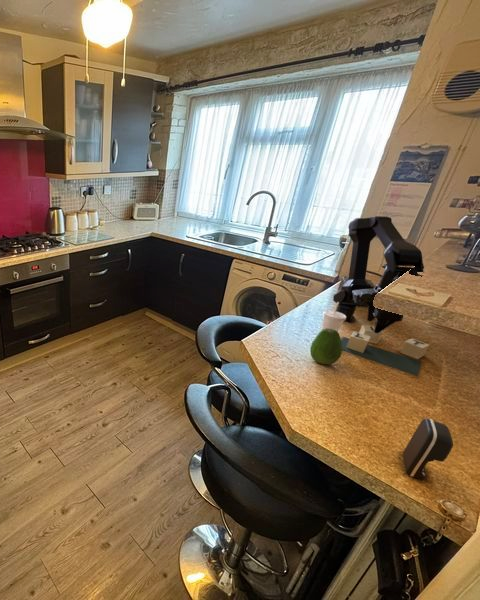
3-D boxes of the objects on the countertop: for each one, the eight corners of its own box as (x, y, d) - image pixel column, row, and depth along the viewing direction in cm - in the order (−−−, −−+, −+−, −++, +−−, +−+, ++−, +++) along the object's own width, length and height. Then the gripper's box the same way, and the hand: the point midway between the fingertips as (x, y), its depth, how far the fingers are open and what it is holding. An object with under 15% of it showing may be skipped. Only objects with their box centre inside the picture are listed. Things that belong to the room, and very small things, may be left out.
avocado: (303, 353, 106) (314, 321, 101) (331, 358, 103) (344, 326, 98) (309, 367, 99) (321, 334, 94) (340, 372, 96) (354, 339, 91)
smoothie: (330, 334, 117) (343, 299, 111) (341, 343, 111) (355, 307, 105) (311, 333, 117) (323, 298, 112) (321, 342, 112) (335, 306, 106)
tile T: (405, 349, 108) (411, 337, 106) (423, 356, 104) (429, 344, 102) (399, 353, 106) (405, 341, 104) (416, 360, 102) (423, 347, 100)
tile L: (349, 342, 111) (354, 331, 109) (365, 347, 108) (370, 336, 106) (346, 347, 108) (350, 335, 106) (362, 353, 105) (368, 340, 103)
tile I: (357, 335, 116) (362, 324, 114) (373, 338, 114) (378, 327, 112) (360, 341, 112) (365, 329, 110) (376, 344, 110) (382, 332, 108)
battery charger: (430, 486, 64) (459, 445, 59) (404, 475, 66) (430, 435, 61) (425, 461, 69) (451, 422, 64) (401, 452, 71) (424, 413, 66)
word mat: (343, 337, 115) (343, 336, 114) (420, 362, 101) (421, 361, 101) (335, 349, 108) (335, 348, 108) (416, 377, 94) (417, 376, 94)
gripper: (353, 272, 115) (339, 311, 122) (366, 290, 101) (349, 333, 107) (394, 277, 111) (376, 317, 117) (413, 297, 96) (392, 341, 102)
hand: (372, 326), depth 111 cm, fingers open, 9 cm apart
